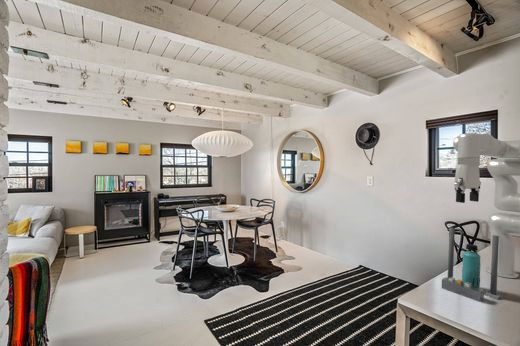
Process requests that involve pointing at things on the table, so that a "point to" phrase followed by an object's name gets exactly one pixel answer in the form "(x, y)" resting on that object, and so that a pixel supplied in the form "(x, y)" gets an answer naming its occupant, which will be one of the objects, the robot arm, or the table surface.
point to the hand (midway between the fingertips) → (467, 201)
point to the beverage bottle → (471, 266)
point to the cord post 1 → (451, 252)
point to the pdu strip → (463, 288)
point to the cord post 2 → (494, 269)
